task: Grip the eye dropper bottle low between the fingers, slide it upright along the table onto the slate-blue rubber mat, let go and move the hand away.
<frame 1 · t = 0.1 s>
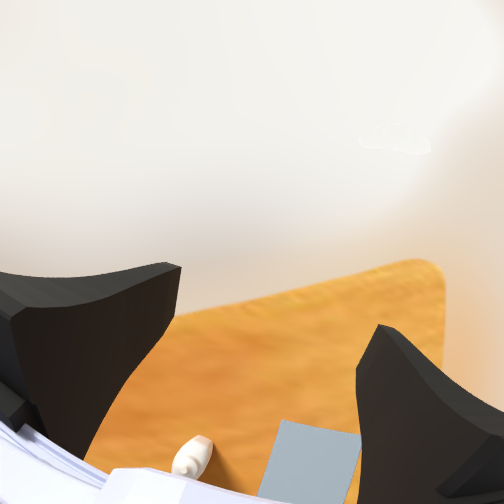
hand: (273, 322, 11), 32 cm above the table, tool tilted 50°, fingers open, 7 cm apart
eye dropper bottle: (197, 454, 34), on the table
mat: (308, 482, 32), on the table
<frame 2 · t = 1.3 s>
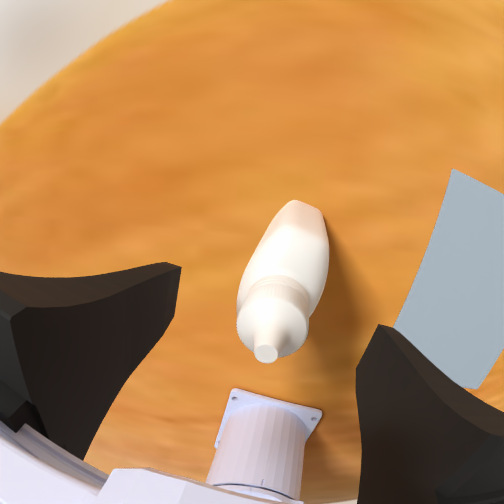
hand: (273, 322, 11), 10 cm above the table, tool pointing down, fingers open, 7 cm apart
eye dropper bottle: (290, 242, 20), on the table
mat: (476, 299, 19), on the table
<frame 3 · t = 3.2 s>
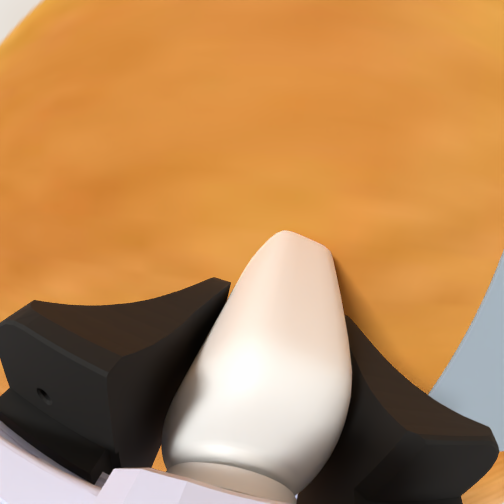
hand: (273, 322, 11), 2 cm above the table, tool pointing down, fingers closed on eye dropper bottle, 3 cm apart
eye dropper bottle: (279, 295, 13), on the table, touching gripper
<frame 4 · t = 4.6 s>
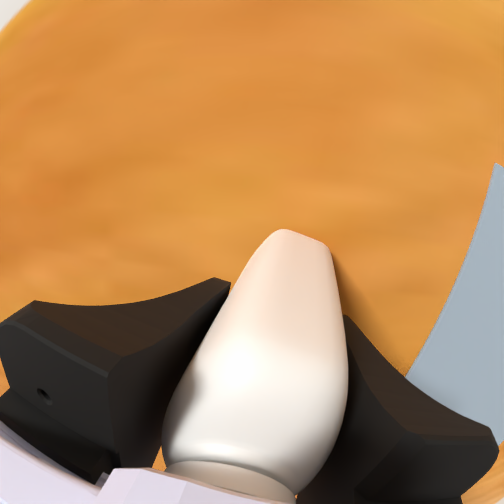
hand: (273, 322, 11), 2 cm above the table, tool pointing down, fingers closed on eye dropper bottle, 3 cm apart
eye dropper bottle: (280, 294, 13), on the table, touching gripper
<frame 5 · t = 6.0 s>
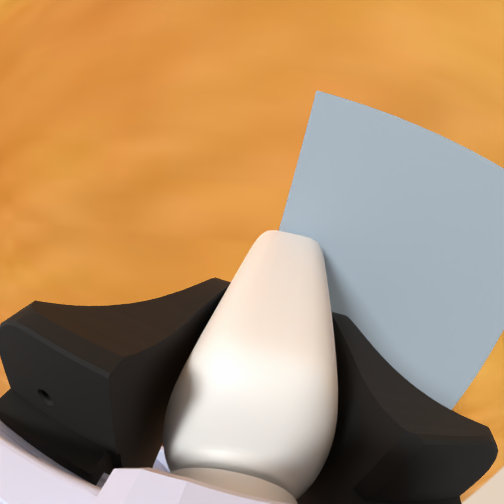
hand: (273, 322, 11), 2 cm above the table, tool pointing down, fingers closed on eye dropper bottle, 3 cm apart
eye dropper bottle: (278, 295, 13), on the table, touching gripper, mat
mat: (396, 329, 12), on the table
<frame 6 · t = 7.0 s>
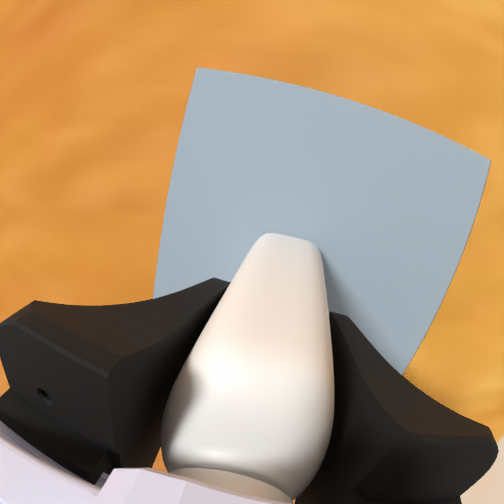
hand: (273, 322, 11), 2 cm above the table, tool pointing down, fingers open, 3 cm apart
eye dropper bottle: (276, 297, 13), resting on mat, touching gripper
mat: (296, 302, 12), on the table
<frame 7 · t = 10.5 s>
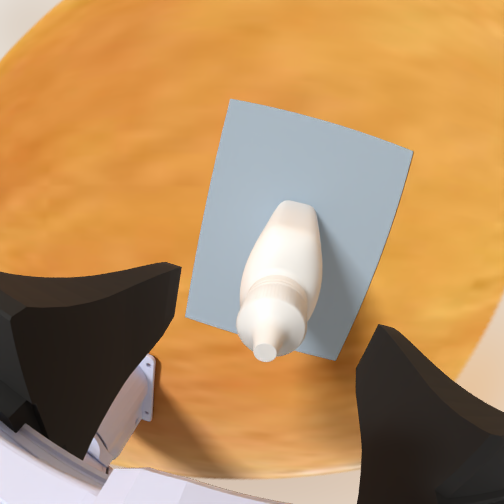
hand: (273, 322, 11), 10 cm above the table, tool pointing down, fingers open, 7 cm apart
eye dropper bottle: (290, 242, 20), resting on mat
mat: (290, 241, 20), on the table
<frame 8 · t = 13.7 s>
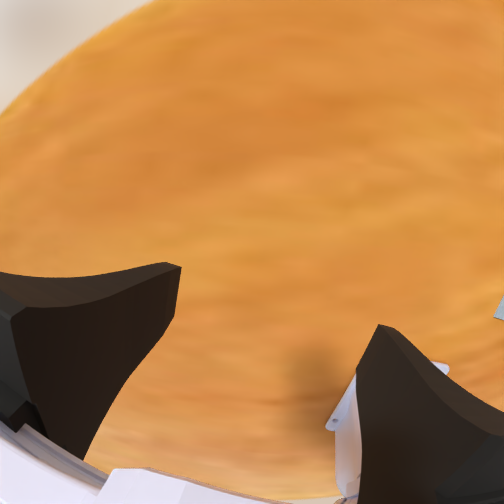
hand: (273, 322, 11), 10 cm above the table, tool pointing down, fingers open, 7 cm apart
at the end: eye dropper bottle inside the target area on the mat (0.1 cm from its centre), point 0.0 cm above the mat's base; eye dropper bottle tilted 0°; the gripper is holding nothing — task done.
